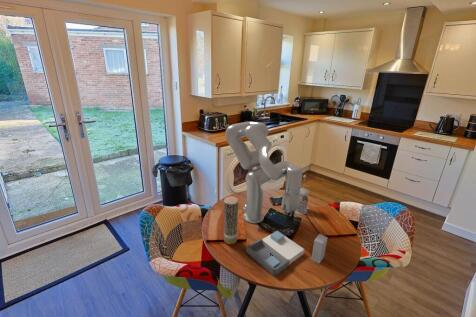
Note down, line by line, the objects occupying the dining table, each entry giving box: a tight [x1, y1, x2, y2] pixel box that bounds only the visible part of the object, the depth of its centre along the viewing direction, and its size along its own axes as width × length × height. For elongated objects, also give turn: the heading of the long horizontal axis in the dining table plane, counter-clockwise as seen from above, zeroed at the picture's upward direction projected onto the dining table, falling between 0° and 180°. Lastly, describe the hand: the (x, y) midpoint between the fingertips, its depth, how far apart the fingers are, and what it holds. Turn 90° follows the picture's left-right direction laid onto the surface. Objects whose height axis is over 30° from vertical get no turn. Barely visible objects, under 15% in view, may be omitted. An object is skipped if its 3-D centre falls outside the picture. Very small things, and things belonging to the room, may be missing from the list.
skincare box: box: [311, 233, 328, 264], centre depth 117 cm, size 6×4×12 cm
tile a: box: [265, 256, 280, 268], centre depth 113 cm, size 5×5×2 cm
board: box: [261, 234, 305, 265], centre depth 124 cm, size 18×12×3 cm, turn 39°
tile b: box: [270, 230, 285, 243], centre depth 127 cm, size 5×5×2 cm
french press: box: [295, 174, 310, 215], centre depth 154 cm, size 10×12×25 cm
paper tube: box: [223, 195, 239, 245], centre depth 125 cm, size 7×7×25 cm
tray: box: [245, 238, 290, 277], centre depth 117 cm, size 19×10×4 cm, turn 39°
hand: (289, 220), depth 129 cm, fingers closed
